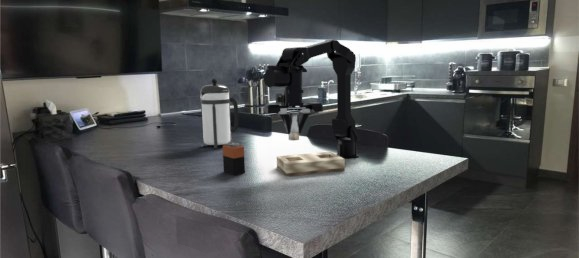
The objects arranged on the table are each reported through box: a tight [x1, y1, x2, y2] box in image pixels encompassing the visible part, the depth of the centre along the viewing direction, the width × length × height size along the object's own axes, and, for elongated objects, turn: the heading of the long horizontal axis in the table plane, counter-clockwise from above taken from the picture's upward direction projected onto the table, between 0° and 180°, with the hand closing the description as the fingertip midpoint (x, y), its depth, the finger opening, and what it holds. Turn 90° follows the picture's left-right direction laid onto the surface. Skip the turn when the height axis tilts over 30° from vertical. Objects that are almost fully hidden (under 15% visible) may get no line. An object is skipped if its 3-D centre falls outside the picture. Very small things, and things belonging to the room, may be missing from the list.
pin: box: [287, 111, 300, 141], centre depth 131 cm, size 4×4×9 cm
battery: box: [222, 141, 246, 176], centre depth 131 cm, size 4×7×10 cm, turn 42°
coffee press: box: [199, 78, 240, 150], centre depth 176 cm, size 17×16×30 cm
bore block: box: [276, 151, 346, 177], centre depth 134 cm, size 20×12×4 cm, turn 107°
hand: (293, 133), depth 132 cm, fingers closed on pin, 3 cm apart
